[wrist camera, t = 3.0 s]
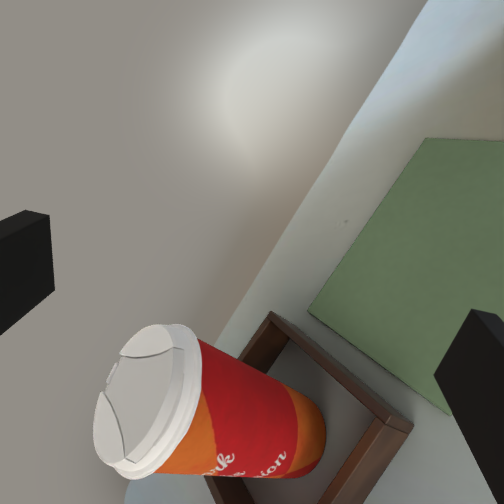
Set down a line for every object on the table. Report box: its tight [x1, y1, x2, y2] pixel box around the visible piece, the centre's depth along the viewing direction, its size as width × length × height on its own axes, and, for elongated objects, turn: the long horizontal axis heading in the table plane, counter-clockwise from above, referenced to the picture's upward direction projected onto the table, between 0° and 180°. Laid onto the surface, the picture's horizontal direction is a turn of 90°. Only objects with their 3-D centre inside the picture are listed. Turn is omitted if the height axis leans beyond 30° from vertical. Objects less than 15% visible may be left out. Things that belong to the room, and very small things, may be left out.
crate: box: [204, 311, 414, 504], centre depth 26 cm, size 13×13×4 cm
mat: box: [307, 138, 504, 416], centre depth 27 cm, size 20×14×1 cm
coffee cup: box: [93, 324, 326, 480], centre depth 23 cm, size 8×8×15 cm
